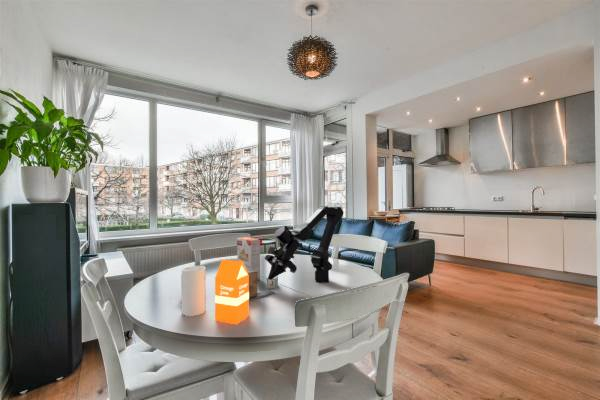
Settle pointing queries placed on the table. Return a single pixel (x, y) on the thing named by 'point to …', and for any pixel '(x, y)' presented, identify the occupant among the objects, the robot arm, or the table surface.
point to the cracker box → (249, 253)
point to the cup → (193, 290)
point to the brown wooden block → (253, 283)
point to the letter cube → (272, 282)
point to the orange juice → (231, 292)
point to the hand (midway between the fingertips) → (269, 279)
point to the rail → (262, 294)
